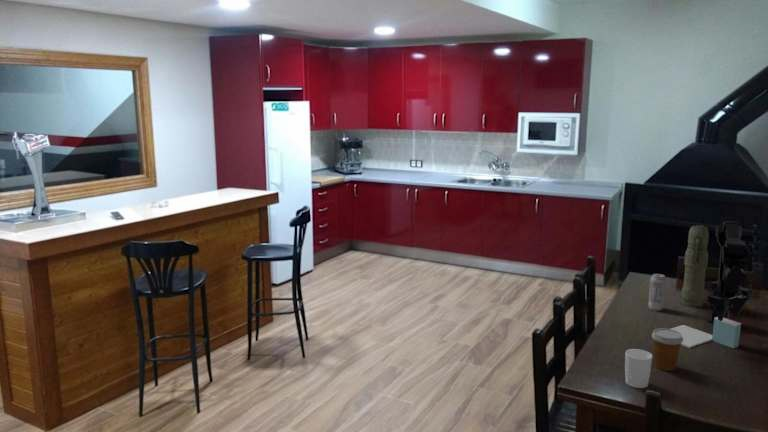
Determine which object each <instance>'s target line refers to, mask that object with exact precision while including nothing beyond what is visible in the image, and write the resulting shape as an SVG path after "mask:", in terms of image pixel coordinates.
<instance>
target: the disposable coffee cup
mask: <svg viewBox="0 0 768 432" xmlns="http://www.w3.org/2000/svg"><path fill="white" fill-rule="evenodd" d="M651 338H652V346H653V349H652V350H653V363H654V367H655V368H657V369H659V370H661V371H668V372H670V371H675V369H676V364H677V361H678V357H679V354H680V351H681V346H682V345H681V343H682V341H683V338H682V334H681V333H679V332H677V331H675V330H671V328H664V327H663V328H661V327H660V328H655V329H654V330H653V331H652V333H651Z"/></svg>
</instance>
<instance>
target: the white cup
mask: <svg viewBox="0 0 768 432" xmlns="http://www.w3.org/2000/svg"><path fill="white" fill-rule="evenodd" d="M653 358H654V355H653V354H652V353H651V352H649V351H647V350H644V349H639V348H630V349H629V348H628V349H627V350H625V353H624V374H625V378H624V381H625V384H626V385H628V386H630V387H632V388H637V389H644V388H647V387H648V386H649V383H650V382H649V381H650V377H651V370H652V365H653V364H652V363H653Z"/></svg>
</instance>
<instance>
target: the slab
mask: <svg viewBox="0 0 768 432" xmlns="http://www.w3.org/2000/svg"><path fill="white" fill-rule="evenodd" d="M741 325H742V322H738V321H736V320H732V319H730V318H728V319H726V318H723V320H722V321H719V320H718V317H715V318H714V323H713V327H712V335H713V336H712V341H713V342H715V343H718V344H721V345H723V346H727V347H729V348H732V349H735V348H738V347H740V346H739V344H740V335H741V329H742V327H741Z"/></svg>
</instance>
